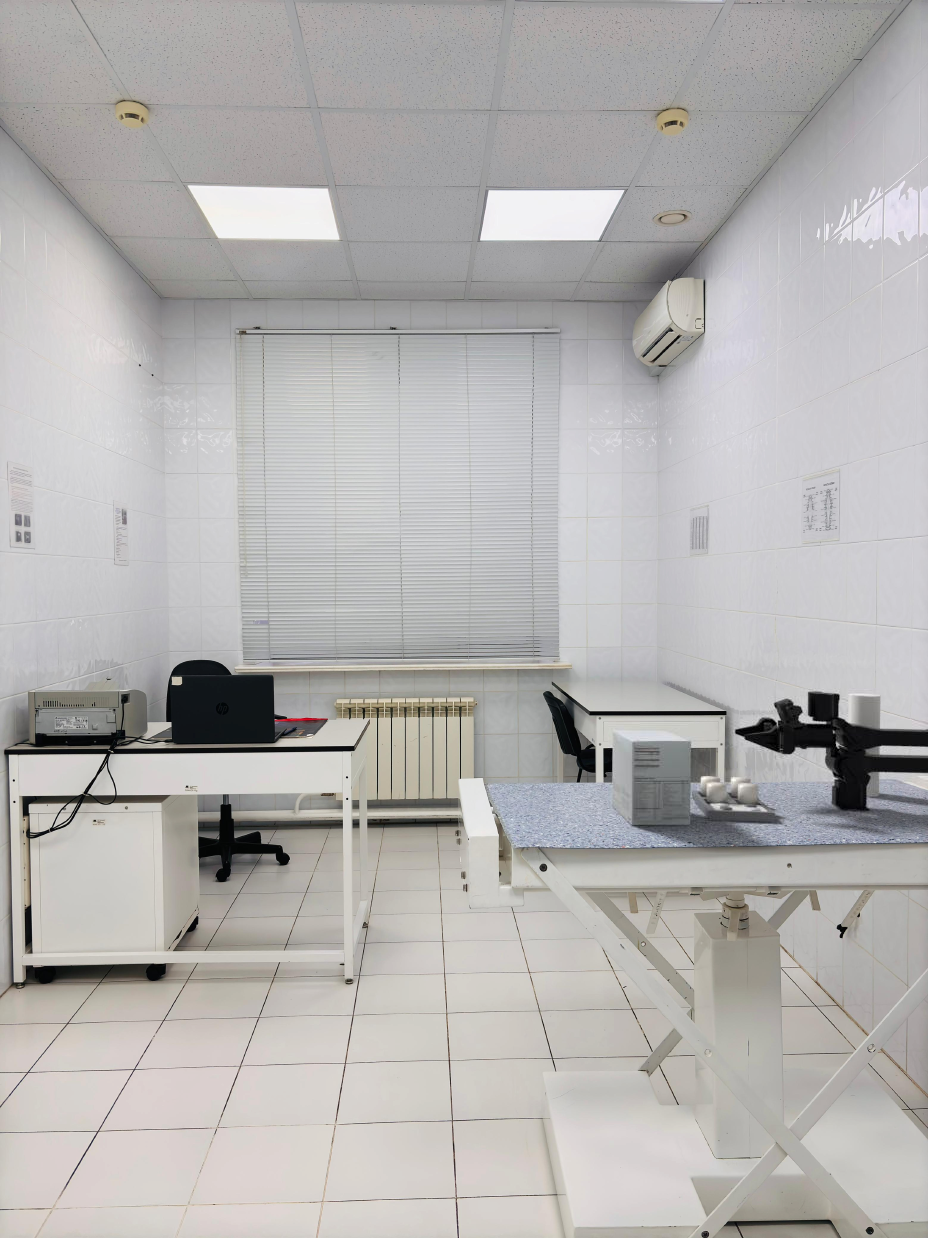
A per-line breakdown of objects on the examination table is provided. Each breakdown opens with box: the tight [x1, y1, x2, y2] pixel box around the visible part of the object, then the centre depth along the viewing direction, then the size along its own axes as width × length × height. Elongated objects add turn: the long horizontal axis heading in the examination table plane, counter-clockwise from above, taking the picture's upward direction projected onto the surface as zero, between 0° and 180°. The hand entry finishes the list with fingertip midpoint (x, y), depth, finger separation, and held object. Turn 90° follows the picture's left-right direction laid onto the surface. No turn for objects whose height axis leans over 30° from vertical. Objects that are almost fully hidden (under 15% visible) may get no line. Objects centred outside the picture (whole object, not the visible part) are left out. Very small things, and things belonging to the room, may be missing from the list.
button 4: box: [738, 783, 759, 805], centre depth 185 cm, size 4×4×4 cm
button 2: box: [707, 782, 728, 804], centre depth 185 cm, size 4×4×4 cm
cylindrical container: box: [848, 692, 881, 798], centre depth 204 cm, size 7×7×25 cm
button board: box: [691, 790, 776, 823], centre depth 186 cm, size 14×20×2 cm
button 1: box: [700, 775, 721, 796], centre depth 192 cm, size 4×4×4 cm
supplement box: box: [611, 729, 692, 826], centre depth 180 cm, size 17×13×18 cm
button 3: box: [730, 776, 752, 797], centre depth 192 cm, size 4×4×4 cm
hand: (739, 734), depth 191 cm, fingers open, 9 cm apart
